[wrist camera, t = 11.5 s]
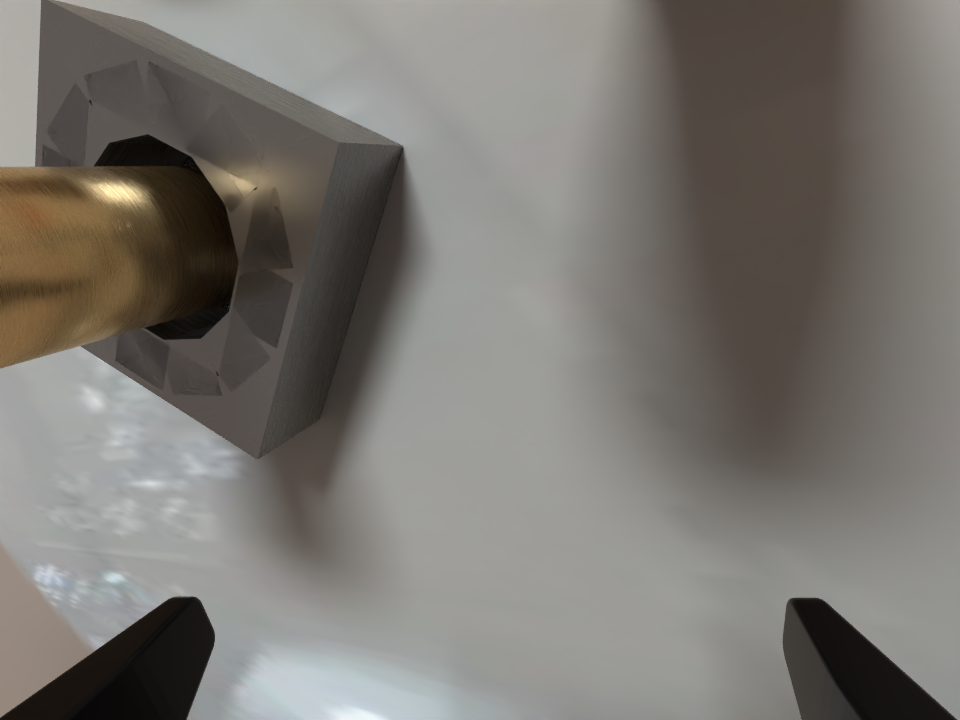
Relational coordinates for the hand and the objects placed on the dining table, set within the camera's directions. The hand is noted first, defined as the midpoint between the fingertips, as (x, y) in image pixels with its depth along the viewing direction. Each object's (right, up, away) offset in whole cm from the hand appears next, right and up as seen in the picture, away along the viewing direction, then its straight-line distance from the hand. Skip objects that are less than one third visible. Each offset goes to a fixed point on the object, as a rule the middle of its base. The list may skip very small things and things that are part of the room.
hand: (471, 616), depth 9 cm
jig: (-9, +9, +13) cm, 18 cm away
